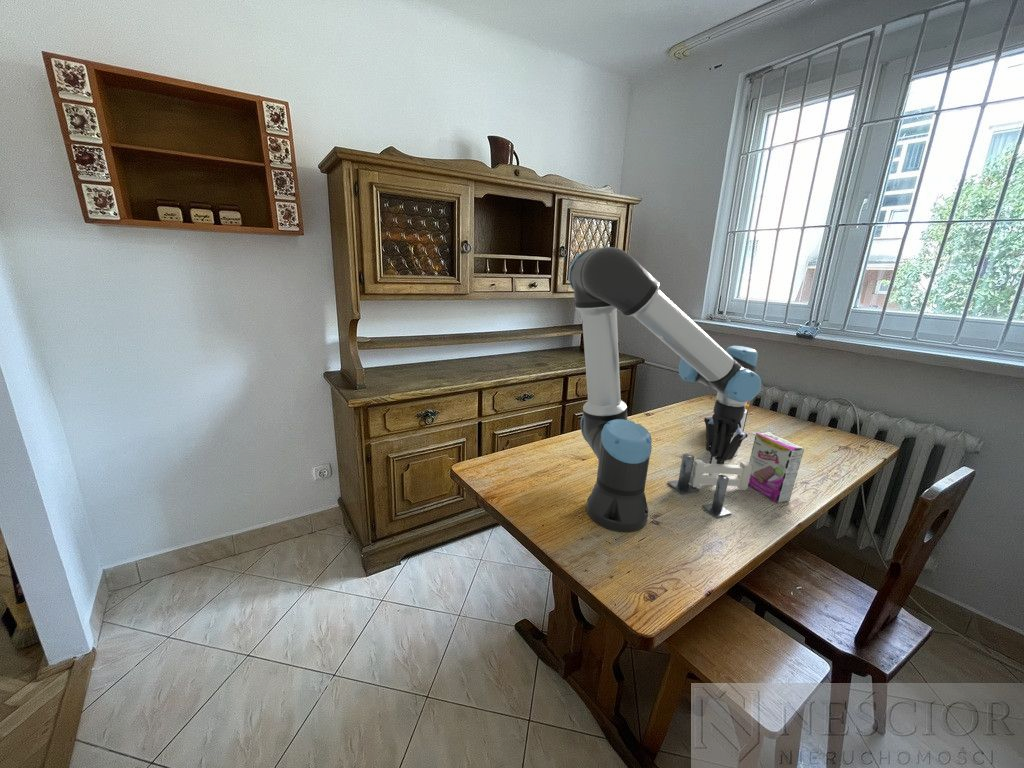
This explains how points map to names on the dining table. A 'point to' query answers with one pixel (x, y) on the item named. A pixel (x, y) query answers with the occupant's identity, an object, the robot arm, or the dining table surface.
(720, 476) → the post
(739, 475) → the gate
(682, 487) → the post
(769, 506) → the dining table surface
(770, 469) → the candy bar box
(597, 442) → the robot arm
